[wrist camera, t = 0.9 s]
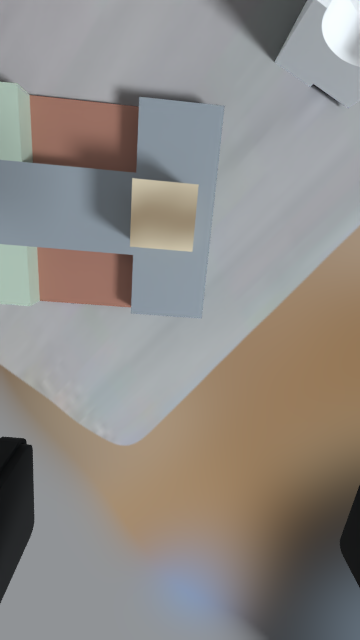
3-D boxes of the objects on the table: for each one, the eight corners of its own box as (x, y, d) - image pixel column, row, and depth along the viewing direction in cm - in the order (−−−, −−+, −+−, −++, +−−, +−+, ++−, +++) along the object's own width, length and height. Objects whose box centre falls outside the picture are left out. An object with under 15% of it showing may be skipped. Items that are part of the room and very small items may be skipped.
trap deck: (-64, 86, 25) (-114, 57, 20) (219, 116, 26) (229, 95, 22) (-38, 293, 30) (-74, 305, 25) (199, 311, 31) (203, 324, 26)
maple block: (138, 186, 25) (132, 178, 21) (193, 191, 25) (198, 184, 21) (136, 243, 26) (129, 246, 22) (188, 247, 26) (192, 251, 22)
